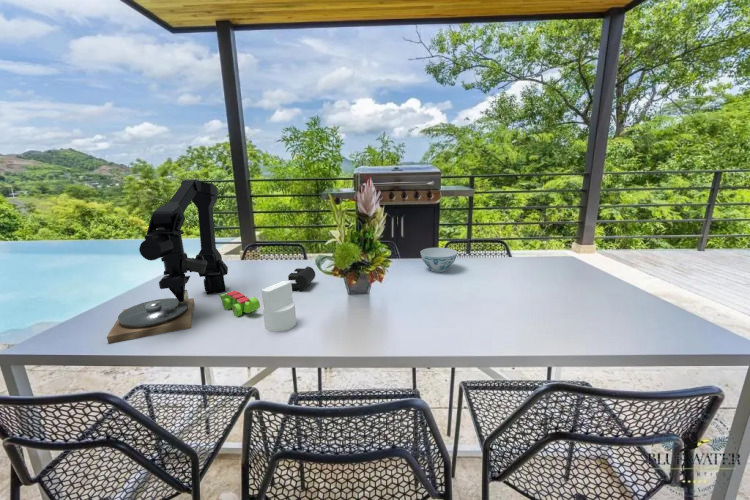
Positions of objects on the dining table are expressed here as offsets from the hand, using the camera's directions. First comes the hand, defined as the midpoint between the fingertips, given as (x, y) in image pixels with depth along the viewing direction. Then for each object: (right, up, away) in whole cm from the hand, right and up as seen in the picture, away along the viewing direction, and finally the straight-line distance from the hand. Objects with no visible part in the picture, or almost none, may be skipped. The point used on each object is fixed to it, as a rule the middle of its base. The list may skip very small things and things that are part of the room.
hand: (181, 301), depth 107 cm
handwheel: (-8, -4, -1) cm, 8 cm away
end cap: (+32, +2, +25) cm, 41 cm away
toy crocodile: (+15, -4, +7) cm, 17 cm away
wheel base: (-8, -6, 0) cm, 10 cm away
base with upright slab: (+32, -6, -5) cm, 33 cm away
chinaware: (+86, +7, +41) cm, 95 cm away
